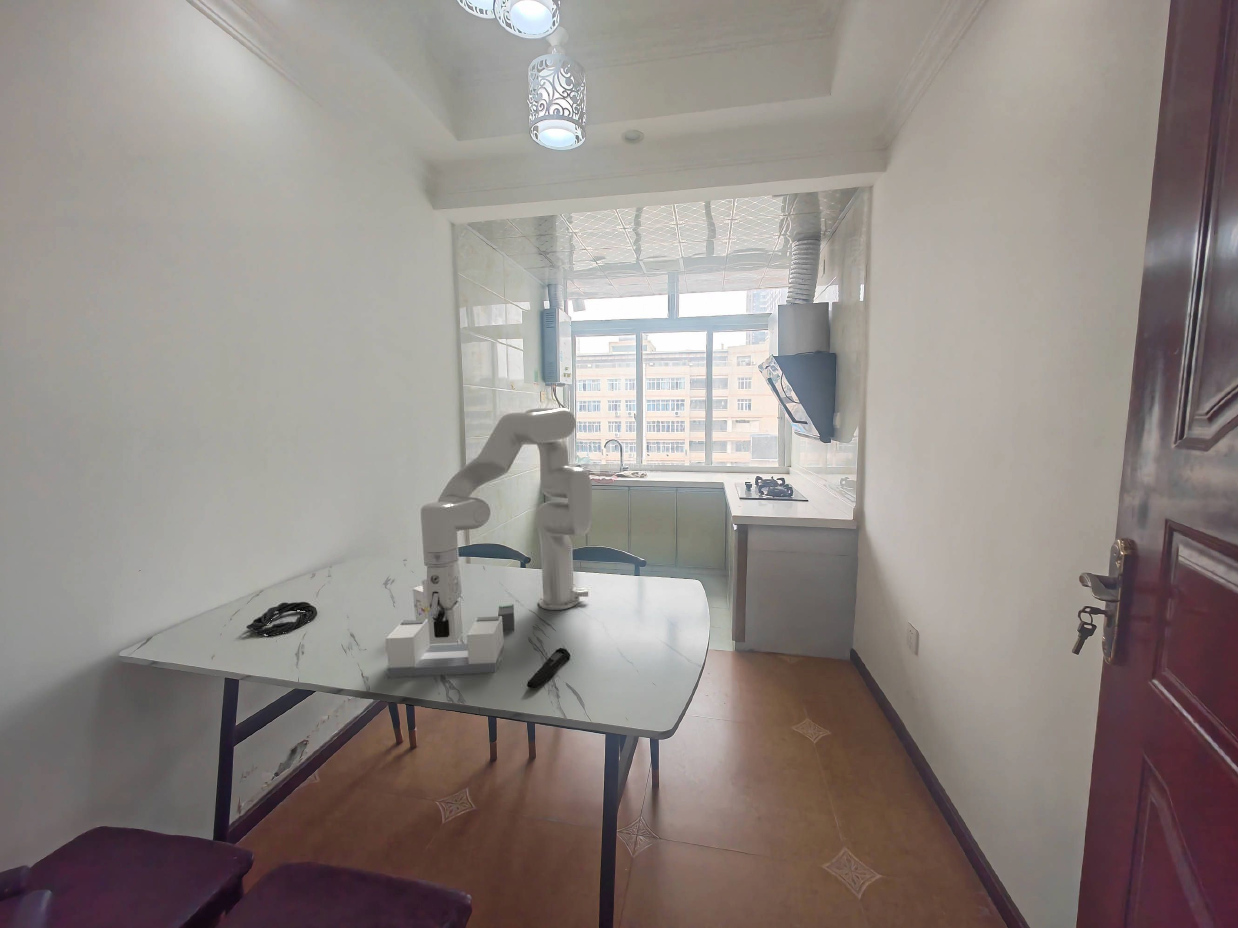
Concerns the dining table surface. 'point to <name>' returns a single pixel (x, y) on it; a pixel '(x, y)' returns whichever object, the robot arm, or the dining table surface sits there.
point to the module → (454, 625)
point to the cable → (261, 622)
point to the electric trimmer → (548, 668)
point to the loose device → (507, 616)
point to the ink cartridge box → (421, 601)
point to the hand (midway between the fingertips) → (446, 630)
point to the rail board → (444, 650)
